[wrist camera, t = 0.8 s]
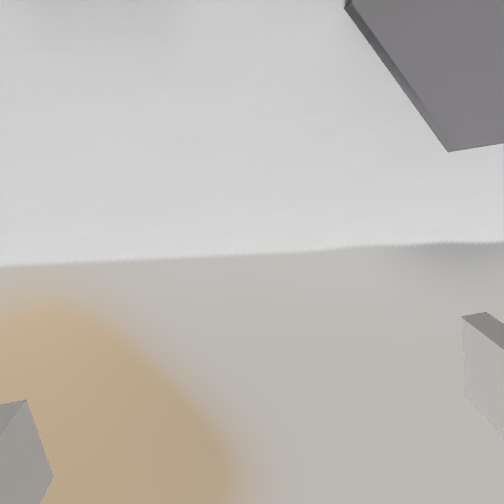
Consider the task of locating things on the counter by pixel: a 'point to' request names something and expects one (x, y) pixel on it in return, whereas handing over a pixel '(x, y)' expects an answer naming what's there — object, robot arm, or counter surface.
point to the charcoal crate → (443, 62)
